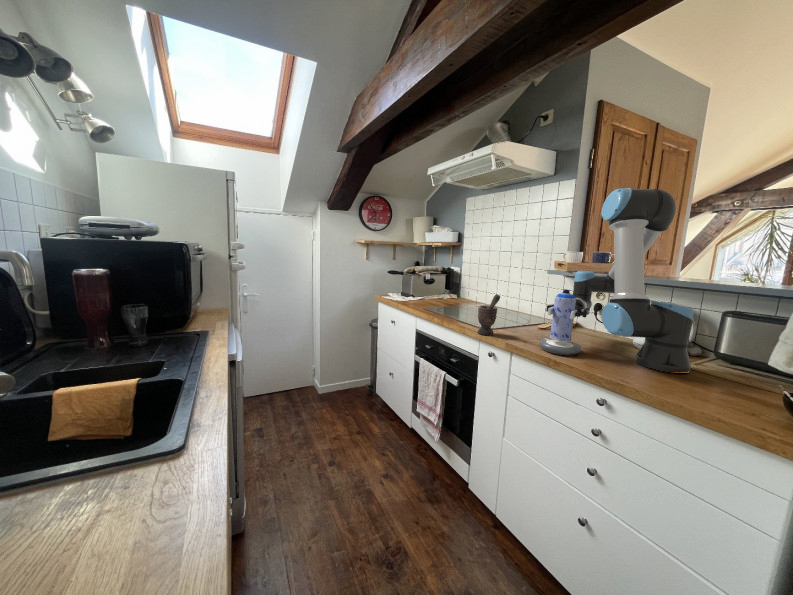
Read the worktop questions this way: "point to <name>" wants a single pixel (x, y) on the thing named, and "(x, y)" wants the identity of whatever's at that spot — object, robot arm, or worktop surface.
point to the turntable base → (559, 352)
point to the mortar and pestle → (487, 316)
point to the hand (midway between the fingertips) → (560, 313)
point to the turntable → (559, 346)
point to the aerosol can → (563, 316)
